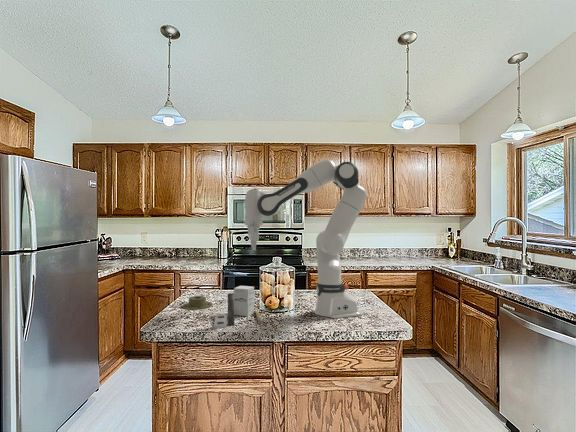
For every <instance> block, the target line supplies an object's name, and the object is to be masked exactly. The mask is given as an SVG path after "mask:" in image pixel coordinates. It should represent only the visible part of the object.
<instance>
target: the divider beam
mask: <svg viewBox="0 0 576 432" xmlns="http://www.w3.org/2000/svg"><path fill="white" fill-rule="evenodd" d="M254 313H255V316H256V320H257V323H259V324H258V325H262V319H261V315H260V311H259V308H254ZM227 326H231V327H232V326H235V315H234V292H231V293H227Z"/></svg>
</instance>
